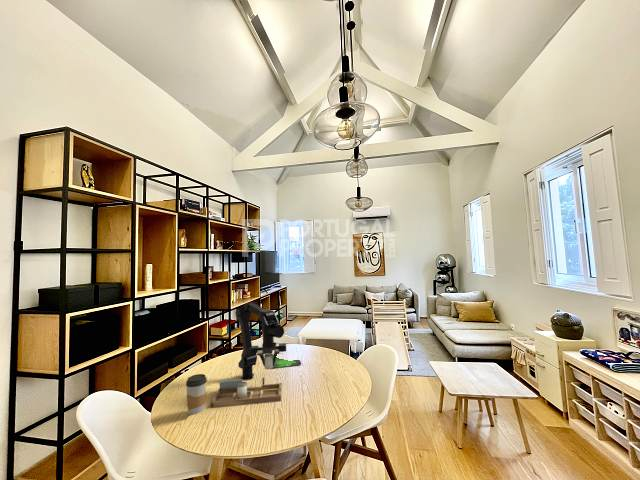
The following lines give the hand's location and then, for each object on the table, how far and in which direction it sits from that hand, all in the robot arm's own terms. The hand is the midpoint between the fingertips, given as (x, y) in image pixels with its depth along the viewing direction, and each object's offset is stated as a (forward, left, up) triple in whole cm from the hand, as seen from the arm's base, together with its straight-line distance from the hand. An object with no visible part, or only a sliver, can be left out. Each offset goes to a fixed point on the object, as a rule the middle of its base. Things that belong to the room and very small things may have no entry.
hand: (268, 365), depth 137 cm
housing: (+9, -9, -11) cm, 17 cm away
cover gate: (+1, -19, -10) cm, 21 cm away
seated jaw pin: (+11, -12, -10) cm, 19 cm away
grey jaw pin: (0, 0, -1) cm, 1 cm away
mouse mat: (-40, +6, -12) cm, 43 cm away
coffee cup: (+18, -31, -12) cm, 37 cm away
